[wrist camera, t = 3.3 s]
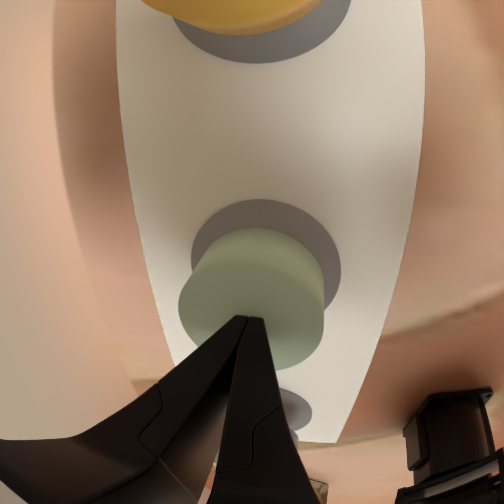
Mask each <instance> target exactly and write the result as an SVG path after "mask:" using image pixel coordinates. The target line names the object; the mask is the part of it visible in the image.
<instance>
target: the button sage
mask: <svg viewBox="0 0 504 504" xmlns="http://www.w3.org/2000/svg"><path fill="white" fill-rule="evenodd" d="M178 312H179V317H180V321H181V323H182V326H183V328H184V330H185V331H186V333H187V335H188V336H189V337H190V339H191V340H192V341H193V342H194V343H195V344H196V345H197V346H198V347H199V346H200V345H201V344H202V343H204V342H205V341H206V340H207V339H208V338H209V337H211V336H212V335H213V334H214V333H215V332H216V331H217V330H219V329H220V328H221V327H222V326H223V325H224V324H225V323H226V322H228V321H229V320H230V319H231V318H232V317H233V316H235V315H244V316H248V317H251V316H253V317H262V318H263V319H264V322H265V327H266V331H267V336H268V340H269V344H270V349H271V353H272V357H273V362H274V366H275V371H278V370H283V369H286V368H290V367H292V366H295V365H297V364H299V363H301V362H303V361H304V360H305V359H307V358H308V357H309V356H310V355H311V354H312V353H313V352H314V351H315V350H316V349H317V347H318V346H319V344H320V342H321V339H322V336H323V331H324V277H323V273H322V270H321V268H320V266H319V263H318V262H317V260H316V259H315V257H314V256H313V255H312V253H311V252H310V251H309V250H308V249H307V248H306V247H305V246H304V245H302V244H301V243H300V242H298V241H297V240H295V239H294V238H292V237H290V236H288V235H286V234H283V233H281V232H278V231H274V230H270V229H263V228H246V229H239V230H236V231H232V232H230V233H227V234H225V235H223V236H221V237H220V238H218V239H217V240H216V241H214V242H213V243H212V244H211V245H210V246H209V248H208V249H207V250H206V252H205V253H204V255H203V257H202V258H201V260H200V261H199V263H198V264H197V266H196V268H195V269H194V271H193V272H192V274H191V276H190V277H189V279H188V280H187V282H186V284H185V285H184V287H183V288H182V290H181V293H180V296H179V301H178Z"/></svg>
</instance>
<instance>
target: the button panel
mask: <svg viewBox="0 0 504 504" xmlns="http://www.w3.org/2000/svg"><path fill="white" fill-rule="evenodd" d="M116 56H117V76H118V90H119V103H120V113H121V123H122V132H123V140H124V148H125V155H126V162H127V169H128V176H129V182H130V188H131V194H132V199H133V205H134V210H135V215H136V221H137V226H138V230H139V235H140V240H141V244H142V249H143V253H144V258H145V262H146V266H147V270H148V275H149V279H150V283H151V287H152V290H153V294H154V298H155V302H156V305H157V309H158V313H159V316H160V320H161V323H162V326H163V330H164V333H165V337H166V340H167V343H168V346H169V349H170V353H171V356H172V359H173V362H174V365H175V367H176V366H177V365H178V364H179V363H180V362H182V361H183V360H184V359H185V358H186V357H187V356H189V355H190V354H191V353H192V352H193V351H194V350H196V349H197V348H198V346H197V345H196V344H195V343H194V342H193V341H192V340H191V339H190V337H189V336H188V335H187V333H186V331H185V330H184V328H183V326H182V323H181V321H180V317H179V312H178V301H179V296H180V293H181V290H182V288H183V287H184V285H185V284H186V282H187V280H188V279H189V277H190V276H191V274H192V272H193V271H194V269H195V268H196V266H197V264H198V263H199V261H200V260H201V258H202V257H203V255H204V253H205V252H206V250H207V249H208V248H209V246H210V245H211V244H212V243H213V242H214V241H216V240H217V239H218V238H220V237H221V236H223V235H225V234H227V233H230V232H232V231H236V230H239V229H246V228H263V229H270V230H274V231H278V232H281V233H283V234H286V235H288V236H290V237H292V238H294V239H295V240H297V241H298V242H300V243H301V244H302V245H304V246H305V247H306V248H307V249H308V250H309V251H310V252H311V253H312V255H313V256H314V257H315V259H316V260H317V262H318V263H319V266H320V268H321V270H322V273H323V277H324V331H323V336H322V339H321V342H320V344H319V346H318V347H317V349H316V350H315V351H314V352H313V353H312V354H311V355H310V356H309V357H308V358H307V359H305V360H304V361H303V362H301V363H299V364H297V365H295V366H292V367H290V368H286V369H283V370H278V371H276V375H277V379H278V384H279V388H280V392H281V397H282V401H283V406H284V409H285V414H286V418H287V422H288V425H289V428H290V429H292V430H293V431H294V432H295V433H296V434H297V435H298V438H299V439H298V441H306V442H322V443H336V442H337V440H338V438H339V436H340V433H341V431H342V429H343V427H344V425H345V423H346V421H347V419H348V416H349V414H350V412H351V410H352V407H353V405H354V403H355V400H356V398H357V396H358V393H359V391H360V388H361V386H362V384H363V381H364V379H365V376H366V373H367V371H368V368H369V366H370V363H371V360H372V357H373V355H374V352H375V349H376V346H377V343H378V340H379V338H380V335H381V332H382V329H383V325H384V322H385V319H386V316H387V313H388V309H389V306H390V303H391V299H392V296H393V292H394V289H395V285H396V281H397V277H398V273H399V270H400V266H401V261H402V257H403V253H404V249H405V244H406V239H407V235H408V230H409V225H410V220H411V214H412V209H413V203H414V197H415V191H416V184H417V177H418V170H419V162H420V153H421V143H422V131H423V118H424V97H425V48H424V28H423V15H422V5H421V0H322V1H321V2H320V3H319V4H318V5H317V6H316V7H315V8H314V9H313V10H312V11H311V12H309V13H308V14H307V15H305V16H304V17H302V18H301V19H299V20H297V21H295V22H294V23H292V24H289V25H287V26H285V27H282V28H280V29H276V30H273V31H270V32H265V33H261V34H254V35H239V36H234V35H222V34H217V33H212V32H209V31H206V30H202V29H200V28H198V27H196V26H193V25H191V24H189V23H187V22H184V21H182V20H179V19H177V18H175V17H172V16H170V15H167V14H165V13H162V12H160V11H157V10H155V9H153V8H151V7H149V6H148V5H146V4H145V3H144V2H142V1H141V0H116Z"/></svg>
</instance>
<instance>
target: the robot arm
mask: <svg viewBox="0 0 504 504" xmlns="http://www.w3.org/2000/svg"><path fill="white" fill-rule="evenodd" d="M492 395H493V390H492V389H483V390H475V391H467V392H457V393H446V394H434V395H431V396H429V397H428V398H427V400H426V401H425V402H424V404H423V405H422V407H421V408H420V410H419V411H418V412H417V414H416V415H415V417H414V418H413V419H412V421H411V422H410V423H409V425H408V426H407V427H406V428H405V430H404V431H403V437H406V449H407V466H408V470H409V471H413V475H414V486H411V487H407V488H406V487H404V488H400V489H398V492H397V497H396V499H395V504H504V448H503V447H502V448H500V449H498V450H497V452H496V450H495V445H494V440H493V436H492V431H491V427H490V423H489V419H488V415H487V411H486V408H485V404H486V403H487V402H488V400H489V399H490V398H491V397H492ZM219 446H220V449H219ZM218 449H219V455H218V460H217V466H216V471H215V473H216V474H215V477H214V482H213V486H212V490H211V494H210V496H209V498H208V501H207V503H206V504H321V502H320V500H319V499H318V497H317V495H316V493H315V491H314V489H313V487H312V484H311V482H310V480H309V477H308V475H307V473H306V470H305V468H304V466H303V463H302V461H301V459H300V456H299V454H298V452H297V449H296V446H295V444H294V441H293V438H292V435H291V433H290V429H289V425H288V422H287V418H286V414H285V409H284V406H283V401H282V397H281V392H280V388H279V384H278V379H277V375H276V371H275V366H274V362H273V357H272V353H271V349H270V344H269V340H268V336H267V331H266V327H265V322H264V319H263V318H262V317H253V316H251V317H248V316H244V315H235V316H233V317H232V318H231V319H230V320H229V321H228V322H226V323H225V324H224V325H223V326H222V327H221V328H220V329H219V330H217V331H216V332H215V333H214V334H213V335H212V336H211V337H209V338H208V339H207V340H206V341H205V342H204V343H202V344H201V345H200V346H199V347H198V348H197V349H196V350H194V351H193V352H192V353H191V354H190V355H189V356H187V357H186V358H185V359H184V360H183V361H182V362H180V363H179V364H178V365H177V366H176V367H174V368H173V369H172V370H171V371H170V372H169V373H167V374H166V375H165V376H164V377H163V378H161V379H160V380H159V381H158V383H155V384H154V385H153V386H152V387H150V388H149V389H148V390H147V391H146V392H144V393H143V394H142V395H140V396H139V397H138V398H136V399H135V400H134V401H132V402H131V403H129V404H128V405H127V406H125V407H124V408H122V409H121V410H119V411H118V412H116V413H114V414H113V415H111V416H110V417H108V418H106V419H105V420H103V421H101V422H100V423H98V424H97V425H95V426H93V427H92V428H90V429H88V430H87V431H85V432H83V433H80V434H78V435H75V436H73V437H68V438H61V439H60V438H59V439H43V440H3V439H0V504H198V503H197V502H198V501H199V499H200V496H201V494H202V491H203V489H204V486H205V483H206V481H207V478H208V476H209V473H210V470H211V468H212V465H213V462H214V460H215V457H216V454H217V452H218ZM497 470H499V474H497V475H495V476H492V474H491V473H493V472H495V471H497Z"/></svg>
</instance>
